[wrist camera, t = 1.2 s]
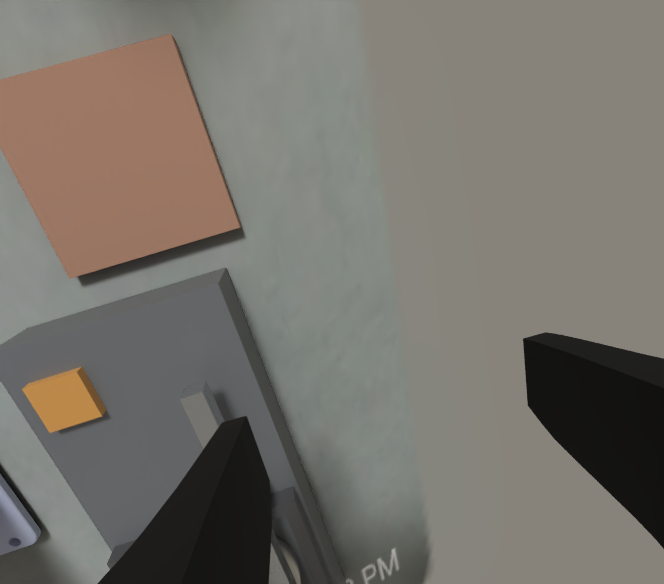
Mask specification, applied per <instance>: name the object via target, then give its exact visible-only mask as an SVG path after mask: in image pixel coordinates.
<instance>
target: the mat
mask: <svg viewBox="0 0 664 584" xmlns="http://www.w3.org/2000/svg"><path fill="white" fill-rule="evenodd" d="M0 148H1V150H2V152H3V153H4V155H5V157H6V159H7V161H8V163H9V165H10V167H11V169H12V170H13V172H14V174H15V176H16V178H17V180H18V182H19V184H20V186H21V188H22V189H23V191H24V193H25V195H26V197H27V199H28V201H29V203H30V205H31V206H32V208H33V210H34V212H35V214H36V216H37V218H38V220H39V222H40V223H41V225H42V227H43V229H44V231H45V233H46V235H47V237H48V239H49V240H50V242H51V244H52V246H53V248H54V250H55V252H56V254H57V256H58V258H59V259H60V261H61V263H62V265H63V267H64V269H65V271H66V273H67V275H68V276H69V278H74V277H77V276H80V275H84V274H87V273H90V272H94V271H97V270H100V269H104V268H107V267H110V266H114V265H117V264H120V263H124V262H127V261H130V260H134V259H137V258H140V257H144V256H147V255H150V254H154V253H157V252H160V251H164V250H167V249H170V248H174V247H177V246H180V245H184V244H187V243H190V242H194V241H197V240H200V239H204V238H207V237H210V236H214V235H217V234H220V233H224V232H227V231H230V230H234V229H237V228H240V227H241V224H240V221H239V219H238V216H237V213H236V210H235V207H234V205H233V202H232V199H231V196H230V193H229V191H228V188H227V185H226V182H225V179H224V177H223V174H222V171H221V168H220V165H219V162H218V160H217V157H216V154H215V151H214V148H213V146H212V143H211V140H210V137H209V134H208V132H207V129H206V126H205V123H204V120H203V117H202V115H201V112H200V109H199V106H198V103H197V101H196V98H195V95H194V92H193V89H192V87H191V84H190V81H189V78H188V75H187V73H186V70H185V67H184V64H183V61H182V58H181V56H180V53H179V50H178V47H177V44H176V42H175V39H174V37H173V36H172V35H171V34H168V35H165V36H161V37H157V38H153V39H150V40H146V41H142V42H139V43H135V44H131V45H128V46H124V47H120V48H116V49H113V50H109V51H105V52H102V53H98V54H94V55H90V56H87V57H83V58H79V59H76V60H72V61H68V62H65V63H61V64H57V65H53V66H50V67H46V68H42V69H39V70H35V71H31V72H27V73H24V74H20V75H16V76H13V77H9V78H5V79H2V80H0Z"/></svg>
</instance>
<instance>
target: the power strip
mask: <svg viewBox="0 0 664 584" xmlns="http://www.w3.org/2000/svg"><path fill="white" fill-rule="evenodd" d="M0 380H1V382H2V383H3V385H4V386H5V388H6V390H7V391H8V393H9V394H10V396H11V397H12V399H13V400H14V402H15V403H16V405H17V406H18V408H19V409H20V411H21V413H22V414H23V416H24V417H25V419H26V420H27V422H28V423H29V425H30V426H31V428H32V429H33V431H34V433H35V434H36V436H37V437H38V439H39V440H40V442H41V443H42V445H43V446H44V448H45V449H46V451H47V452H48V454H49V456H50V457H51V459H52V460H53V462H54V463H55V465H56V466H57V468H58V469H59V471H60V472H61V474H62V475H63V477H64V479H65V480H66V482H67V483H68V485H69V486H70V488H71V489H72V491H73V492H74V494H75V495H76V497H77V499H78V500H79V502H80V503H81V505H82V506H83V508H84V509H85V511H86V512H87V514H88V515H89V517H90V518H91V520H92V522H93V523H94V525H95V526H96V528H97V529H98V531H99V532H100V534H101V535H102V537H103V538H104V540H105V541H106V543H107V545H108V546H109V548H110V549H111V551H112V554H111V556H110V559H109V561H108V563H107V565H108V567H109V568H110V569H111V568H112V567H113V566H114V565H115V564H116V563H117V561H118V560H119V559H120V558H121V557H122V556H123V555H124V553H125V552H126V551H127V550H128V549H129V548H130V546H131V545H132V544H133V543H134V542H135V541H136V539H137V538H138V537H139V536H140V534H141V533H142V532H143V531H144V529H145V528H146V527H147V526H148V524H149V523H150V522H151V520H152V519H153V518H154V517H155V515H156V514H157V513H158V511H159V510H160V509H161V507H162V506H163V505H164V504H165V502H166V501H167V500H168V498H169V497H170V496H171V494H172V493H173V492H174V491H175V489H176V488H177V486H178V485H179V484H180V482H181V481H182V479H183V478H184V477H185V475H186V474H187V472H188V471H189V469H190V468H191V467H192V465H193V464H194V462H195V461H196V459H197V458H198V457H199V455H200V454H201V452H202V451H203V447H202V445H201V443H200V441H199V439H198V437H197V435H196V432H195V430H194V428H193V426H192V424H191V422H190V420H189V418H188V416H187V414H186V412H185V410H184V408H183V405H182V403H181V401H180V397H181V394H182V392H183V390H184V387H186V386H189V385H192V384H195V383H198V382H201V381H205V380H206V381H207V383H208V385H209V387H210V390H211V392H212V394H213V396H214V399H215V401H216V403H217V405H218V408H219V410H220V412H221V414H222V417H223V419H224V421H229V420H233V419H236V418H240V417H243V416H247V418H248V421H249V424H250V426H251V429H252V432H253V435H254V438H255V440H256V443H257V446H258V449H259V452H260V454H261V457H262V460H263V463H264V466H265V468H266V471H267V474H268V477H269V480H270V492H271V509H272V529H273V531H274V533H275V536H277V537H279V538H280V539H282V540H283V541H285V542H286V543H287V544H288V545H289V546H290V547H291V548H292V550H293V551H294V552H295V554H296V556H297V559H298V562H299V567H300V580H301V584H346V580H345V577H344V575H343V572H342V569H341V567H340V564H339V561H338V559H337V556H336V554H335V551H334V548H333V546H332V543H331V541H330V538H329V535H328V533H327V530H326V528H325V525H324V522H323V520H322V517H321V514H320V512H319V509H318V507H317V504H316V501H315V499H314V496H313V494H312V491H311V488H310V486H309V483H308V480H307V478H306V475H305V473H304V470H303V467H302V465H301V462H300V460H299V457H298V454H297V452H296V449H295V446H294V444H293V441H292V439H291V436H290V433H289V431H288V428H287V426H286V423H285V420H284V418H283V415H282V413H281V410H280V407H279V405H278V402H277V399H276V397H275V394H274V392H273V389H272V386H271V384H270V381H269V379H268V376H267V373H266V371H265V368H264V365H263V363H262V360H261V358H260V355H259V352H258V350H257V347H256V345H255V342H254V339H253V337H252V334H251V331H250V329H249V326H248V324H247V321H246V318H245V316H244V313H243V311H242V308H241V305H240V303H239V300H238V298H237V295H236V292H235V290H234V287H233V284H232V282H231V279H230V277H229V274H228V271H227V269H226V268H224V269H220V270H217V271H214V272H210V273H207V274H204V275H201V276H197V277H194V278H191V279H187V280H184V281H181V282H178V283H174V284H171V285H168V286H165V287H161V288H158V289H155V290H151V291H148V292H145V293H142V294H138V295H135V296H132V297H129V298H125V299H122V300H119V301H115V302H112V303H109V304H106V305H102V306H99V307H96V308H92V309H89V310H86V311H83V312H79V313H76V314H73V315H70V316H66V317H63V318H60V319H56V320H53V321H50V322H47V323H43V324H40V325H37V326H33V327H30V328H27V329H25V330H24V331H22V332H21V333H19V334H17V335H16V336H14V337H13V338H11V339H9V340H8V341H6V342H5V343H3V344H1V345H0Z"/></svg>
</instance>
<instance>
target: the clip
mask: <svg viewBox="0 0 664 584" xmlns="http://www.w3.org/2000/svg"><path fill="white" fill-rule="evenodd" d="M180 401H181V403H182V405H183V408H184V410H185V412H186V414H187V416H188V418H189V420H190V422H191V424H192V426H193V428H194V430H195V432H196V435H197V437H198V439H199V441H200V443H201V445H202V447H203V449H204V448H205V446H206V445H207V443H208V442H209V440H210V439H211V437H212V436H213V434H214V433H215V432H216V430H217V429H218V427H219V426H220V425H221V423H222V422H225V421H224V419H223V417H222V414H221V412H220V410H219V408H218V405H217V403H216V401H215V399H214V396H213V394H212V392H211V390H210V387H209V385H208V383H207V381H206V380H205V381H201V382H198V383H195V384H192V385H189V386H186V387H184V390H183V392H182V394H181V397H180ZM269 584H297V583H296V580H295V578H294V576H293V574H292V572H291V569H290V567H289V565H288V563H287V560H286V558H285V556H284V554H283V551H282V549H281V547H280V545H279V542H278V540H277V538H276V536H275V533H274V531H273V529H272V536H271V554H270V571H269Z"/></svg>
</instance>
